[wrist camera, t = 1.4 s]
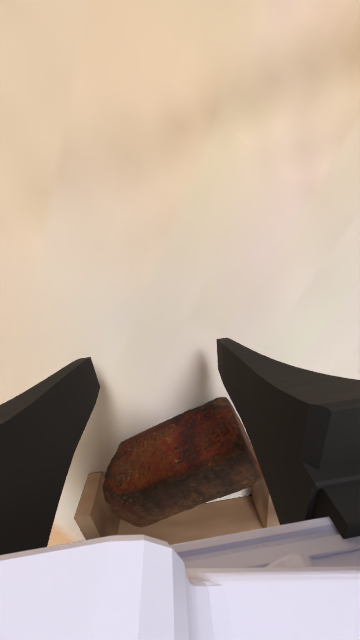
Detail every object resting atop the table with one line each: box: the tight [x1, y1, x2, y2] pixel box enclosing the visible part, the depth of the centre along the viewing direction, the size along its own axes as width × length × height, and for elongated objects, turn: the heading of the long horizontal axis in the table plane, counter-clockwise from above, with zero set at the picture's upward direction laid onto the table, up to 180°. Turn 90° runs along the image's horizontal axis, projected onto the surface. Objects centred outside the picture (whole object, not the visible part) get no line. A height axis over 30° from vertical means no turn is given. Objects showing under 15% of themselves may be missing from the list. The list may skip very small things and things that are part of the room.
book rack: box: [74, 472, 280, 545], centre depth 16 cm, size 9×16×7 cm, turn 97°
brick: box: [102, 397, 263, 527], centre depth 14 cm, size 11×4×5 cm, turn 118°
